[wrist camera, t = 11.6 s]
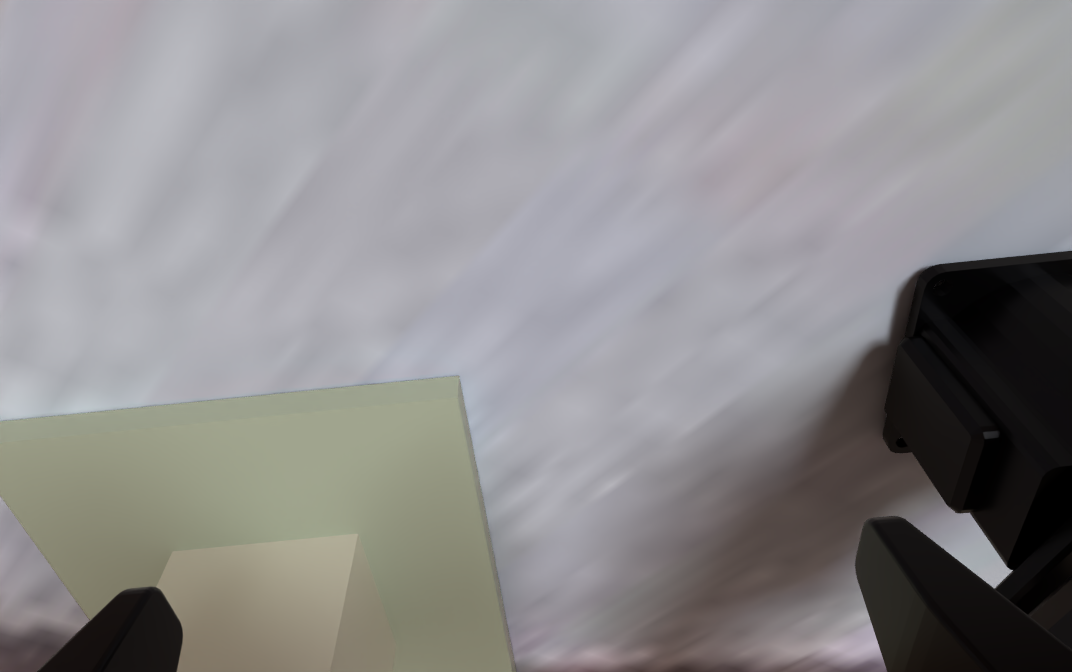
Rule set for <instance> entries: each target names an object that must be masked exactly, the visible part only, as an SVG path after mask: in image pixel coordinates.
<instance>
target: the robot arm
mask: <svg viewBox="0 0 1072 672" xmlns="http://www.w3.org/2000/svg"><path fill="white" fill-rule="evenodd" d="M942 280H945V281H944V283H943V284H942V285H941V286H939V287H938V288H934V286H935V285H936V284H937V283H938V282H939V281H942ZM933 288H934V289H933ZM885 412H886V414H887V417H886V421H885V425H884V430H883V440H884V441H885V443H886V445H887V446H888V448H889V449H890V450H891V451H892V452H894V453H909V452H912V453H913V454H914V456H915V457H916V459H917V460H918V462H919V463H920V465H921V466H922V468H923V469H924V471H925V472H926V474H927V475H928V477H929V479H930V480H931V482H932V483H933V485H934V486H935V488H936V489H937V491H938V492H939V494H940V495H941V497H942V498H943V500H944V501H945V503H946V504H947V505H948V506H949V507H950V508H951V509H952V510H954V511H955V512H956V513H969V512H970V514H971V515H972V517H973V518H974V520H975V521H976V522H977V524H978V525H979V527H980V528H981V530H982V531H983V533H984V534H985V535H986V537H987V538H988V540H989V541H990V543H991V544H992V546H993V547H994V548H995V550H996V551H997V553H998V554H999V556H1000V557H1001V559H1002V560H1003V562H1004V563H1005V564H1006V566H1007V567H1008V568H1009V569H1011V570H1013V571H1012V572H1011V573H1010V574H1009V575H1008V576H1007V577H1006V578H1005V579H1004V580H1003V581H1002V582H1001V583H1000V584H999V585H998V586H997V587H996V588H995V589H994V588H993V587H991V586H990V585H989V584H987V583H986V582H985V581H984V580H982V579H981V578H980V577H979V576H977V575H976V574H975V573H973V572H972V571H971V570H970V569H968V568H967V567H966V566H964V565H963V564H962V563H961V562H959V561H958V560H957V559H955V558H954V557H953V556H952V555H950V554H949V553H948V552H946V551H945V550H944V549H943V548H941V547H940V546H939V545H938V544H936V543H935V542H934V541H932V540H931V539H930V538H929V537H927V536H926V535H925V534H923V533H922V532H921V531H920V530H918V529H917V528H916V527H914V526H913V525H912V524H911V523H909V522H908V521H907V520H905V519H903V518H901V517H898V516H888V517H877V518H870V519H868V520H867V521H866V522H865V523H864V525H863V529H862V533H861V537H860V542H859V546H858V551H857V555H856V560H855V569H856V575H857V579H858V583H859V586H860V589H861V592H862V595H863V598H864V601H865V604H866V607H867V610H868V613H869V616H870V620H871V623H872V626H873V629H874V632H875V635H876V638H877V641H878V644H879V647H880V650H881V653H882V656H883V660H884V663H885V666H886V669H887V672H1072V251H1065V252H1055V253H1046V254H1036V255H1026V256H1016V257H1006V258H996V259H986V260H977V261H967V262H957V263H947V264H939V265H935V266H932V267H930V268H928V269H927V270H925V271H924V272H923V273H922V274H921V275H920V277H919V279H918V281H917V285H916V289H915V293H914V298H913V302H912V307H911V311H910V315H909V320H908V324H907V329H906V333H905V337H904V339H903V340H902V341H901V343H900V344H899V346H898V350H897V354H896V359H895V363H894V368H893V372H892V377H891V381H890V386H889V390H888V395H887V399H886V404H885ZM901 436H902V438H900V437H901ZM182 643H183V629H182V625H181V622H180V620H179V619H178V617H177V615H176V614H175V612H174V610H173V609H172V607H171V605H170V604H169V602H168V600H167V599H166V597H165V595H164V594H163V592H162V591H161V590H160V589H159V588H157V587H154V586H149V587H138V588H130V589H126V590H123V591H122V592H120V593H119V594H117V595H116V596H115V597H114V598H113V599H112V600H111V601H110V602H109V603H108V604H107V605H106V606H105V607H104V608H103V609H102V610H100V611H99V612H98V613H97V614H96V615H95V616H94V617H93V618H92V619H91V620H90V621H89V622H88V623H87V624H86V625H85V626H84V627H83V628H82V629H81V630H80V631H79V632H78V633H76V634H75V635H74V636H73V637H72V638H71V639H70V640H69V641H68V642H67V643H66V644H65V645H64V646H63V647H62V648H61V649H60V650H59V651H58V652H57V653H56V654H55V655H54V656H52V657H51V658H50V659H49V660H48V661H47V662H46V663H45V664H44V665H43V666H42V667H41V668H40V669H39V670H38V671H37V672H177V668H178V663H179V658H180V653H181V648H182Z"/></svg>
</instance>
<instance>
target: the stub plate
mask: <svg viewBox="0 0 1072 672" xmlns="http://www.w3.org/2000/svg"><path fill="white" fill-rule="evenodd" d="M0 496H1V497H2V499H3V500H4V501H5V503H6V504H7V506H8V507H9V508H10V510H11V511H12V513H13V514H14V515H15V517H16V518H17V519H18V521H19V522H20V524H21V525H22V526H23V528H24V529H25V531H26V532H27V533H28V535H29V536H30V538H31V539H32V540H33V542H34V543H35V545H36V546H37V547H38V549H39V550H40V552H41V553H42V554H43V556H44V557H45V558H46V560H47V561H48V563H49V564H50V565H51V567H52V568H53V570H54V571H55V572H56V574H57V575H58V577H59V578H60V579H61V581H62V582H63V584H64V585H65V586H66V588H67V589H68V591H69V592H70V593H71V595H72V596H73V598H74V599H75V600H76V602H77V603H78V604H79V606H80V607H81V609H82V610H83V611H84V613H85V614H86V616H87V617H88V618H89V620H91V619H92V618H93V617H94V616H95V615H96V614H97V613H98V612H99V611H100V610H102V609H103V608H104V607H105V606H106V605H107V604H108V603H109V602H110V601H111V600H112V599H113V598H114V597H115V596H116V595H117V594H119V593H120V592H122V591H123V590H126V589H130V588H138V587H149V586H154V587H156V586H157V584H158V582H159V580H160V578H161V576H162V573H163V571H164V569H165V567H166V565H167V562H168V560H169V558H170V556H171V554H172V551H182V550H192V549H203V548H213V547H224V546H234V545H244V544H255V543H265V542H276V541H286V540H297V539H307V538H317V537H328V536H338V535H349V534H359V537H360V540H361V543H362V546H363V549H364V552H365V555H366V558H367V561H368V564H369V566H370V569H371V572H372V575H373V578H374V581H375V584H376V587H377V590H378V593H379V596H380V599H381V601H382V604H383V607H384V610H385V613H386V616H387V619H388V622H389V625H390V628H391V631H392V634H393V636H394V639H395V642H396V649H395V657H394V665H393V672H516V668H515V662H514V657H513V652H512V647H511V642H510V636H509V631H508V626H507V621H506V616H505V611H504V605H503V600H502V595H501V590H500V585H499V580H498V574H497V569H496V564H495V559H494V554H493V549H492V543H491V538H490V533H489V528H488V523H487V517H486V512H485V507H484V502H483V497H482V492H481V486H480V481H479V476H478V471H477V466H476V461H475V455H474V450H473V445H472V440H471V435H470V429H469V424H468V419H467V414H466V409H465V404H464V398H463V393H462V388H461V383H460V378H459V376H452V377H442V378H432V379H422V380H411V381H401V382H391V383H381V384H371V385H361V386H351V387H341V388H331V389H321V390H311V391H301V392H291V393H281V394H271V395H261V396H251V397H241V398H231V399H221V400H211V401H201V402H191V403H181V404H171V405H161V406H151V407H141V408H131V409H121V410H111V411H101V412H91V413H81V414H71V415H61V416H51V417H40V418H30V419H20V420H10V421H0Z"/></svg>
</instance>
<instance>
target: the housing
mask: <svg viewBox="0 0 1072 672" xmlns="http://www.w3.org/2000/svg"><path fill="white" fill-rule="evenodd" d="M156 587H157V588H159V589H160V590H161V591H162V592H163V594H164V595H165V597H166V599H167V600H168V602H169V604H170V605H171V607H172V609H173V610H174V612H175V614H176V615H177V617H178V619H179V620H180V622H181V625H182V629H183V643H182V648H181V653H180V658H179V663H178V668H177V672H393V665H394V657H395V649H396V642H395V639H394V636H393V634H392V631H391V628H390V625H389V622H388V619H387V616H386V613H385V610H384V607H383V604H382V601H381V599H380V596H379V593H378V590H377V587H376V584H375V581H374V578H373V575H372V572H371V569H370V566H369V564H368V561H367V558H366V555H365V552H364V549H363V546H362V543H361V540H360V537H359V534H349V535H338V536H328V537H317V538H307V539H297V540H286V541H276V542H265V543H255V544H244V545H234V546H224V547H213V548H203V549H192V550H182V551H172V554H171V556H170V558H169V560H168V562H167V565H166V567H165V569H164V571H163V573H162V576H161V578H160V580H159V582H158V584H157V586H156Z"/></svg>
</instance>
